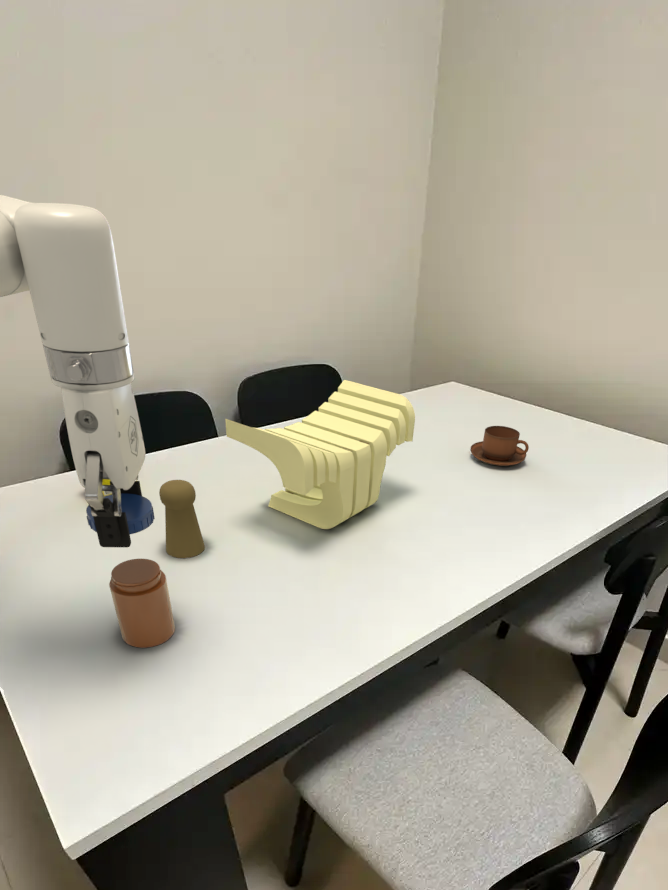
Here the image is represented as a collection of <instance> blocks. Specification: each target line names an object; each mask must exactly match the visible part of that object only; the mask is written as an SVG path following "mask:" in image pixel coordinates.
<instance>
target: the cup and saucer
mask: <svg viewBox="0 0 668 890" xmlns="http://www.w3.org/2000/svg"><path fill="white" fill-rule="evenodd" d="M520 435H521V432H520V431H518V430H517V429H515V428H512V427H509V426H505V425H490V426H487V427H485V428H484V434H483V439H482V441H476V442H475V443H473V444H472V445H471V446H470V453H471V454H472V456H473V457H474V458H476V460H478V461H480V462H482V463H485V464H488V465H492V466H500V467H503V466H504V467H507V466H508V467H509V466H514V465H518V464H521V463H522V462H523V461H525V460H526V457H527V453H528V452H529V448H530V447H529V443H528V442H527V441H526V440H524V439H523V440H522V439H520ZM519 444H523V445H524V447H525V449H523V448H522V447H520V446H518V445H519Z"/></svg>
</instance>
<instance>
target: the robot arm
mask: <svg viewBox="0 0 668 890" xmlns="http://www.w3.org/2000/svg"><path fill="white" fill-rule="evenodd" d="M116 257H117V256H116V251H115V244H114V237H113V233H112V228H111V226H110V222H109V221H108V219H107V217H106V216H105V215H104V214H103V213H102V212H101V211H100V210H99V209H96V208H94V207H92V206H87V205H82V204H75V203H64V202H63V203H61V202H31V201H28V200H27V201H26V200H24V199H23V200H22V199H19V198H16V197H12V196H8V195H3V194H0V298H3V297H7V296H11V295H17V294H20V293H23V292H29V294H30V298H31V303H32V306H33V310H34V315H35V319H36V323H37V327H38V331H39V336H40V339H41V343H42V347H43V351H44V356H45V360H46V363H47V369H48V372H49V373H48V374H49V377H50V381H51V383H52V385H54V386H56V387H59V388H60V392H61V398H62V405H63V412H64V419H65V425H66V429H67V435H68V441H69V446H70V451H71V455H72V459H73V464H74V468H75V471H76V475H77V478H78V481H79V484H80V485H81V487H83V488H84V499H85V502H86V503H87V504H88V505H90V506H89V507H90V508H91V513H92V516H93V518H94V522H95V526H96V531H97V532H96V535H97V539H98V544H99V546H100V547H101V548H129V547H131V545H132V539H131V534H130V533H129V528H128V523H127V518H126V512H122V508H121V494H136V495H140V496H143V494H142V493H143V492H142V488H141V482H140V480H139V474H140V472H141V469H142V468H143V465H144V462H145V460H146V448H145V442H144V436H143V432H142V427H141V421H140V417H139V412H138V408H137V403H136V398H135V395H134V390H133V387H132V383H133V382H134V380H135V379H136V378H135V371H134V365H133V359H132V353H131V347H130V346H131V345H130V341H129V334H128V327H127V321H126V320H127V319H126V314H125V308H124V307H125V306H124V301H123V296H122V295H123V294H122V288H121V282H120V277H119V270H118V269H119V268H118V263H117V258H116ZM103 479H110V480H111V481H110V485H102V482H103ZM102 491H112V496H113V503H112V502H111V501H110V500H109V499H108V498H104V495H103V492H102Z"/></svg>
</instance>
